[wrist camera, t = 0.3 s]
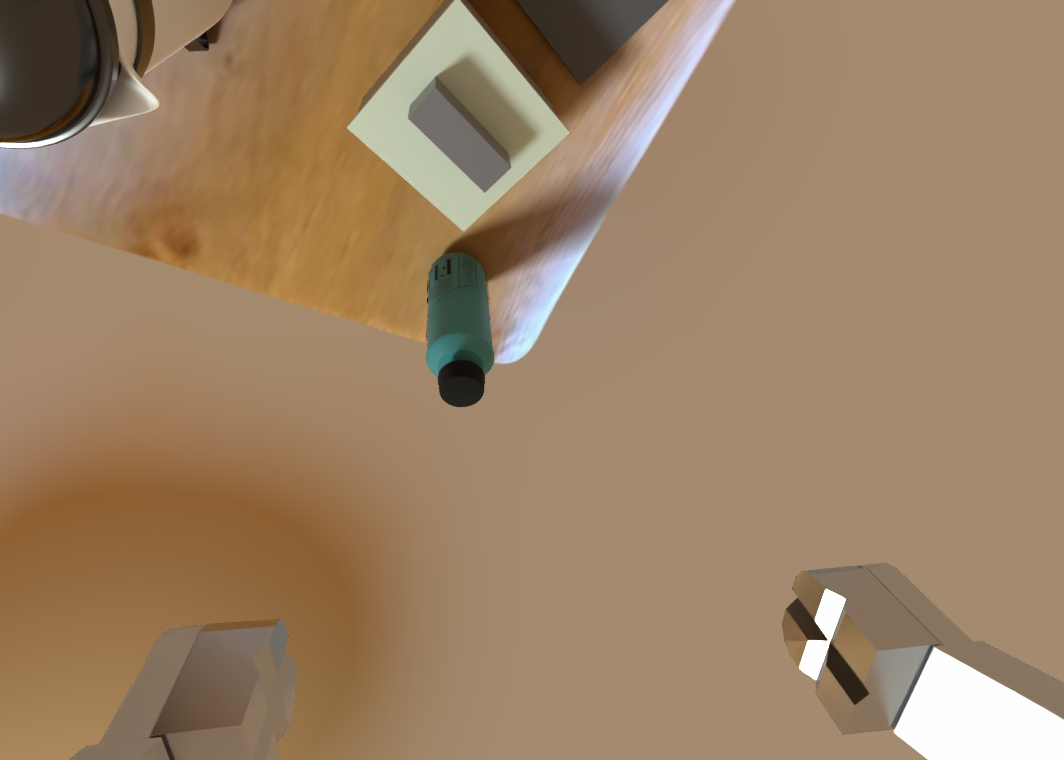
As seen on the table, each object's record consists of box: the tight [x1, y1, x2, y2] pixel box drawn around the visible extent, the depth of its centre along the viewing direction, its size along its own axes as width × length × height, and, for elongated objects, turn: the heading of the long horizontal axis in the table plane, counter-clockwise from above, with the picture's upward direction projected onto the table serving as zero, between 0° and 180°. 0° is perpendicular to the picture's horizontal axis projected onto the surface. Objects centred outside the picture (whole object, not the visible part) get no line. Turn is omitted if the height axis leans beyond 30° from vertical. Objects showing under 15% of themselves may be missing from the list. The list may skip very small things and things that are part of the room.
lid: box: [347, 0, 570, 231], centre depth 44 cm, size 13×13×5 cm
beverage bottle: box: [426, 252, 494, 407], centre depth 55 cm, size 6×7×20 cm
